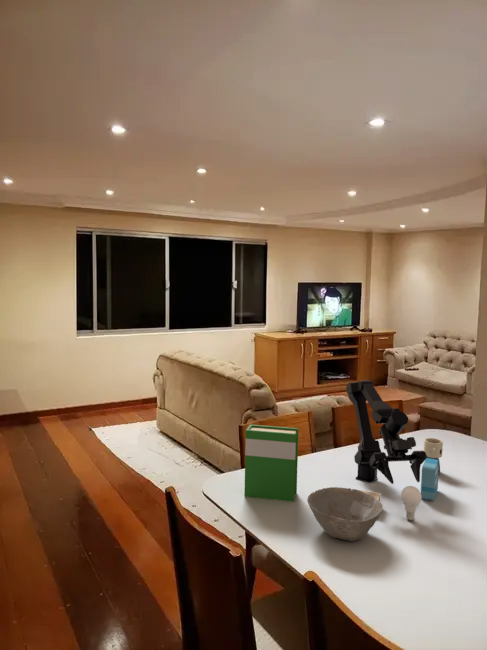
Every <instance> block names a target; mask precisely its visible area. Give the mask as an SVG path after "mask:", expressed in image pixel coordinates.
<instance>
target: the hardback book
mask: <svg viewBox="0 0 487 650" xmlns="http://www.w3.org/2000/svg"><path fill="white" fill-rule="evenodd" d="M244 451H245V454H244V455H245V457H244V495H243V496H244V497H245V498H246V497H247V498H257V499H265V500H275V501H284V502H290V503H291V502H293V503H294V502H295V497H296V496H295V495H297V492H298V491H297V489H298V488H297V487H298V459H299V458H298V455H299V453H298V452H299V428H297V427H287V426H275V425H274V426H271V425H260V424H249V425H248V427H247V428H246V429H245V449H244Z"/></svg>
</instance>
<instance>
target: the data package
mask: <svg viewBox="0 0 487 650" xmlns="http://www.w3.org/2000/svg"><path fill="white" fill-rule="evenodd" d="M439 462H440V459H439V460H436V459H430V458H426V460H425V461H424V462H423V463H422V465H421V467H422V468H421V477H420V481H421V483H420V493H421V496H422V499H421V500H426V501H427V500H428V501H432V502H433V501H435V499H436V496H437V493H438V490H439V489H438V488H439V487H438V485H439V473H440V472H439ZM438 472H439V473H438Z"/></svg>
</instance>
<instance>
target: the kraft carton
mask: <svg viewBox="0 0 487 650" xmlns="http://www.w3.org/2000/svg"><path fill="white" fill-rule="evenodd" d="M359 490H360V491H362V492H364V493H367V494H369V495H371V496H373V497H375V498H376V499H377V500H378V501H379V502H380V503H381V493H380V492H376V491H375V492H373V491H368V490H361V489H359Z"/></svg>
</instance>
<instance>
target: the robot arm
mask: <svg viewBox="0 0 487 650" xmlns="http://www.w3.org/2000/svg"><path fill="white" fill-rule="evenodd" d="M345 387H346V388H345V391H346V394H347V397H348V400H350V402H351V403H352V404H353V406H354V412H355V417H356V423H357V428H358V433H359V438H360V439H359V440H360V441H359V443H358V446H357V451H356V453H355V454H354V462H355V463H356V464H357V476H356V477H355V480H358V481H359V480H360V481H363V482H366V483H374V481H376V480H378V471H379V472H380V473H381V474H382V475H383V476H384V477H385V478H386V480H387V481H388V482H389V483H390V484H392V485H393V484H394V482H395V481H394V478H393V475H392V472H391V470H390V466H389V465H390V464H389V462H392V463H393V462H408V461H409V464H410V466H409V467H410V469H411V471H412V473H413V476H414V478H415V481H416V482H417V483H420V481H421V467H422V465H423V464H424V462H425V460H426V458H427V455H426V453H425V452H424V450H413V448H414V447H416V446H417V442H416V440H415V439H416V438H415V437H414V436H409V437H406V439H403V438H402V437H400V433H401V432H402V431H403V429H404V428H405V427H406V425H407V424H408V422H409V417H408V415H407V414H406V413H405V412H403V411H401V410H400V408H398V407H397V408H393V406H391V405H390V404H389V403H387V402H385V401H384V400H383V398H382V397H381V395H380V394H379V393H378V391H377V389H376V388H375V386H374V382H373V381H372V380H360V381H353V382H351V381H350V382H349V383H348V384H347V385H346V386H345ZM367 403H368V405H369V406H370V409H371V410H372V411H371V417H372V420H373V421H374V423H375V424H377V425H380V424H381V426H380V428H379V430H378V435H381V438H382V440H383V443H384V445H383V449H384V450H385V451H386V452H384V451H382V449H381V445H380V441H379V440H377V439H375V438H374V435H373V431H372V425H371V421H370V415H369V412H368V405H367ZM409 450H413V451H412V452H411V454H408V452H409ZM386 453H387V454H386Z"/></svg>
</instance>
